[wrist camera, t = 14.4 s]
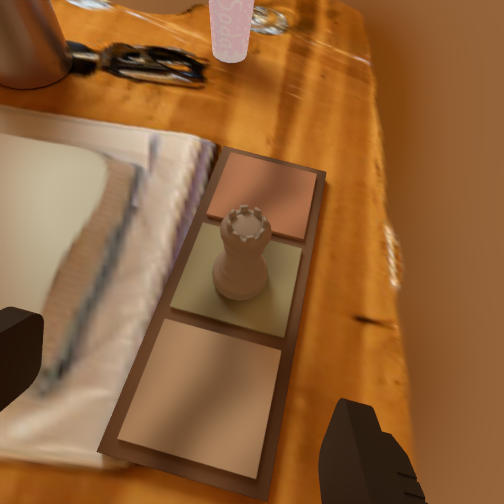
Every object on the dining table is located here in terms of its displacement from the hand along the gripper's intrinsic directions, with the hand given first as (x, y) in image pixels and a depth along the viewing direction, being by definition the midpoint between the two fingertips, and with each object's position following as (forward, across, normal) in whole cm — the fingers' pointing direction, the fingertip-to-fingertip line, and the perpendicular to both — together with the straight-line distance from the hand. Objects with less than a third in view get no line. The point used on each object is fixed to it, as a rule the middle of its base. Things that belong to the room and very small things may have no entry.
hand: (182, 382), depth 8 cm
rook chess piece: (+18, 0, +3) cm, 18 cm away
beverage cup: (+41, +10, -18) cm, 46 cm away
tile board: (+19, 0, +4) cm, 19 cm away
